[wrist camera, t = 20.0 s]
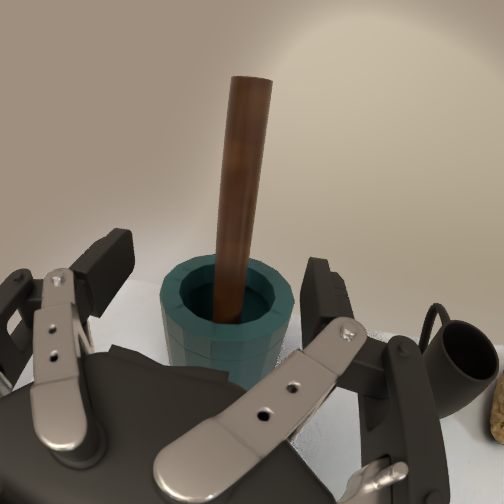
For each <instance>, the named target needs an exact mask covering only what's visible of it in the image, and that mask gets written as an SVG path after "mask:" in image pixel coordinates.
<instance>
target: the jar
mask: <svg viewBox="0 0 504 504" xmlns="http://www.w3.org/2000/svg"><path fill="white" fill-rule="evenodd" d="M215 256H216V254H213V255H205V256H199V257H194V258H192V259H190V260H187V261H185V262H183V263H181V264H178V265H177V266H176V267H175V268H174V269H173V270H172V271H171V272H170V273H169V274H167V276H165V278H164V281H163V284H162V287H161V291H160V303H161V311H162V318H163V325H164V332H165V339H166V345H167V351H168V356H169V362H170V366H200V367H205V368H210V369H216V370H222V371H228V372H229V379H228V381H231V382H233V383H235V384H237V385H239V386H241V387H242V388H244V389H245V390H247V391H249V390H250V389H251V388H253V387H254V386H255V385H256V384H257V383H259V382H260V381H261V380H262V379H263V378H264V377H266V376H267V375H268V374H269V373H270V372H271V371H272V370H274V368H275V365H276V362H277V359H278V356H279V353H280V350H281V346H282V343H283V340H284V337H285V333H286V330H287V327H288V323H289V320H290V317H291V313H292V309H293V306H294V303H295V302H294V297H293V294H292V290H291V287H290V285H289V283H288V282H287V281H286V280H285V279H284V278H283V277H282V276H281V274H280V273H279V272H278V271H277V270H275V269H273V268H271V267H270V266H268V265H266V264H264V263H263V262H261V261H258V260H255V259H251V258H249V262H248V270H247V277H246V285H245V293H244V300H243V308H242V315H241V322H242V323H244V324H240V325H233V324H216V323H213V322H210V321H209V320H212V319H213V297H214V275H215Z"/></svg>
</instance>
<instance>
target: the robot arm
mask: <svg viewBox="0 0 504 504" xmlns="http://www.w3.org/2000/svg"><path fill="white" fill-rule="evenodd" d="M134 265H135V256H134V247H133V239H132V233H131V231H130V230H127V229H119V228H115V229H113V230H112V231H111V232H110V233H109V234H108V235H107V236H106V237H103V238H101V239H99V240H97V241H96V242H94V243H93V244H92V245H91V246H90V247H89V249H87V250H86V251H85V253H84V254H82V255H81V256H80V257H79V258H78V259H77V260H76V261H75V262H74V263H73V264H72V265H71V267H69V268H68V269H67V268H59V269H56V270H53V271H51V272H50V273H48V274H47V275H46V277H45V278H44V279H33V277H32V274H31V272H30V270H28V269H19V270H16V271H14V272H13V273H11V274H10V275H9V276H8V277H7V278H6V279H5V281H4V282H3V283H2V284H1V285H0V504H449V503H450V485H449V475H448V467H447V460H446V453H445V447H444V441H443V436H442V431H441V426H440V421H439V416H438V412H437V408H436V404H435V399H434V396H433V392H432V388H431V384H430V381H429V377H428V374H427V370H426V367H425V364H424V361H423V357H422V354H421V351H420V349H419V347H418V345H417V344H416V343H415V342H414V341H413V340H411V339H410V338H408V337H405V336H401V335H397V336H393V337H392V338H391V339H390V340H389V341H388V343H385V342H382V341H379V340H376V339H373V338H370V337H368V336H367V332H366V329H365V328H364V327H363V325H362V324H361V323H359V322H358V321H356V320H355V319H354V315H353V311H352V308H351V304H350V300H349V297H348V294H347V290H346V286H345V283H344V280H343V279H342V278H341V277H340V275H339V274H338V273H337V272H330V268H329V264H328V261H327V259H321V258H313V257H310V258H309V260H308V264H307V268H306V271H305V275H304V279H303V283H302V286H301V291H300V311H301V329H302V348H303V351H301V350H300V349H297V350H295V351H294V352H292V353H291V354H290V355H289V356H288V357H287V358H286V359H285V360H284V361H283V362H281V363H280V364H279V365H278V366H277V367H276V368H275V369H274V370H272V371H271V372H270V373H269V374H268V375H267V376H266V377H264V378H263V379H262V380H261V381H260V382H259V383H257V384H256V385H255V386H254V387H253V388H251V389H250V390H249V391H247V390H245V389H244V388H242V387H241V386H239V385H237V384H235V383H233V382H231V381H228V379H229V372H228V371H222V370H216V369H210V368H205V367H200V366H165V365H162V364H160V363H158V362H156V361H154V360H152V359H150V358H148V357H146V356H145V355H143V354H141V353H139V352H137V351H133V350H130V349H126V348H123V347H120V346H116V345H113V344H112V346H111V348H110V349H109V351H108V352H99V353H95V352H94V347H93V342H92V337H91V331H90V325H89V321H88V317H89V316H90V315H91V316H94V317H98V318H100V317H101V316H102V314H103V313H104V311H105V310H106V308H107V307H108V305H109V304H110V302H111V301H112V299H113V298H114V297H115V295H116V294H117V292H118V291H119V289H120V288H121V287H122V285H123V284H124V282H125V281H126V280H127V278H128V277H129V275H130V274H131V273H132V271H133V269H134ZM17 309H18V311H19V313H20V315H21V317H22V320H21V321H20V323H19V324H18V325H17V327H16V328H15V330H14V331H13V333H12V334H11V335H9V334H8V331H7V323H8V320H9V319H10V317H11V316H12V315H13V314H14V312H15V311H16V310H17ZM32 354H33V372H34V381H33V382H31V383H29V384H27V385H25V386H23V387H21V388H19V389H17V390H15V391H13V392H12V390H13V388H14V386H15V384H16V383H17V381H18V379H19V377H20V375H21V373H22V371H23V370H24V368H25V366H26V364H27V363H28V361H29V359H30V358H31V356H32ZM337 386H338V387H341V388H344V389H347V390H350V391H353V392H356V393H358V404H359V418H360V435H361V467H362V468H361V469H360V470H358V471H356V472H355V473H354V474H353V475H352V476H351V477H350V478H349V480H348V483H347V487H346V491H345V493H344V495H343V497H342V498H341V499H340V500H339V501H337V502H336V501H335V498H334V497H333V495H332V493H331V492H330V491H329V490H328V489H327V487H326V486H325V485H324V484H323V483H322V482H321V481H320V479H319V478H318V477H317V476H316V475H315V473H314V472H313V471H312V470H311V469H310V468H309V466H308V465H307V464H306V463H305V461H304V460H303V459H302V458H301V457H300V455H299V454H298V453H297V452H296V450H295V449H294V448H293V447H292V445H291V444H290V442H291V441H292V440H293V439H294V438H295V437H296V435H297V434H298V433H299V432H300V431H301V430H302V429H303V428H304V426H305V425H306V424H307V423H308V422H309V420H310V419H311V418H312V417H313V416H314V414H315V413H316V412H317V411H318V410H319V409H320V407H321V406H322V405H323V404H324V402H325V401H326V400H327V399H328V398H329V396H330V395H331V394H332V393H333V391H334V390H335V389H336V387H337Z"/></svg>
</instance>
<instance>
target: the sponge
mask: <svg viewBox="0 0 504 504" xmlns="http://www.w3.org/2000/svg"><path fill="white" fill-rule="evenodd" d="M490 423H491V427H490V429H491V433H492V435H493V436H494V438H495V440H497V442H498V443H500V444H503V445H504V371H503V374H502V375H501V377H500V379H499V380H498V383H497V385H496V389H495V393H494V397H493V405H492V410H491V416H490Z"/></svg>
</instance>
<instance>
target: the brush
mask: <svg viewBox="0 0 504 504" xmlns="http://www.w3.org/2000/svg"><path fill="white" fill-rule="evenodd" d="M272 83H273V81H271V80H269V79H264V78H257V77H248V76H233V77H231V85H230V93H229V102H228V110H227V120H226V130H225V139H224V149H223V160H222V172H221V183H220V197H219V209H218V223H217V240H216V256H215V275H214V297H213V319H212V320H209V321H210V322H213V323H216V324H233V325H240V324H244V323H242V322H241V315H242V308H243V300H244V293H245V285H246V277H247V270H248V262H249V255H250V247H251V240H252V232H253V224H254V217H255V209H256V202H257V195H258V188H259V180H260V173H261V165H262V158H263V150H264V143H265V136H266V128H267V121H268V114H269V106H270V99H271V92H272Z"/></svg>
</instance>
